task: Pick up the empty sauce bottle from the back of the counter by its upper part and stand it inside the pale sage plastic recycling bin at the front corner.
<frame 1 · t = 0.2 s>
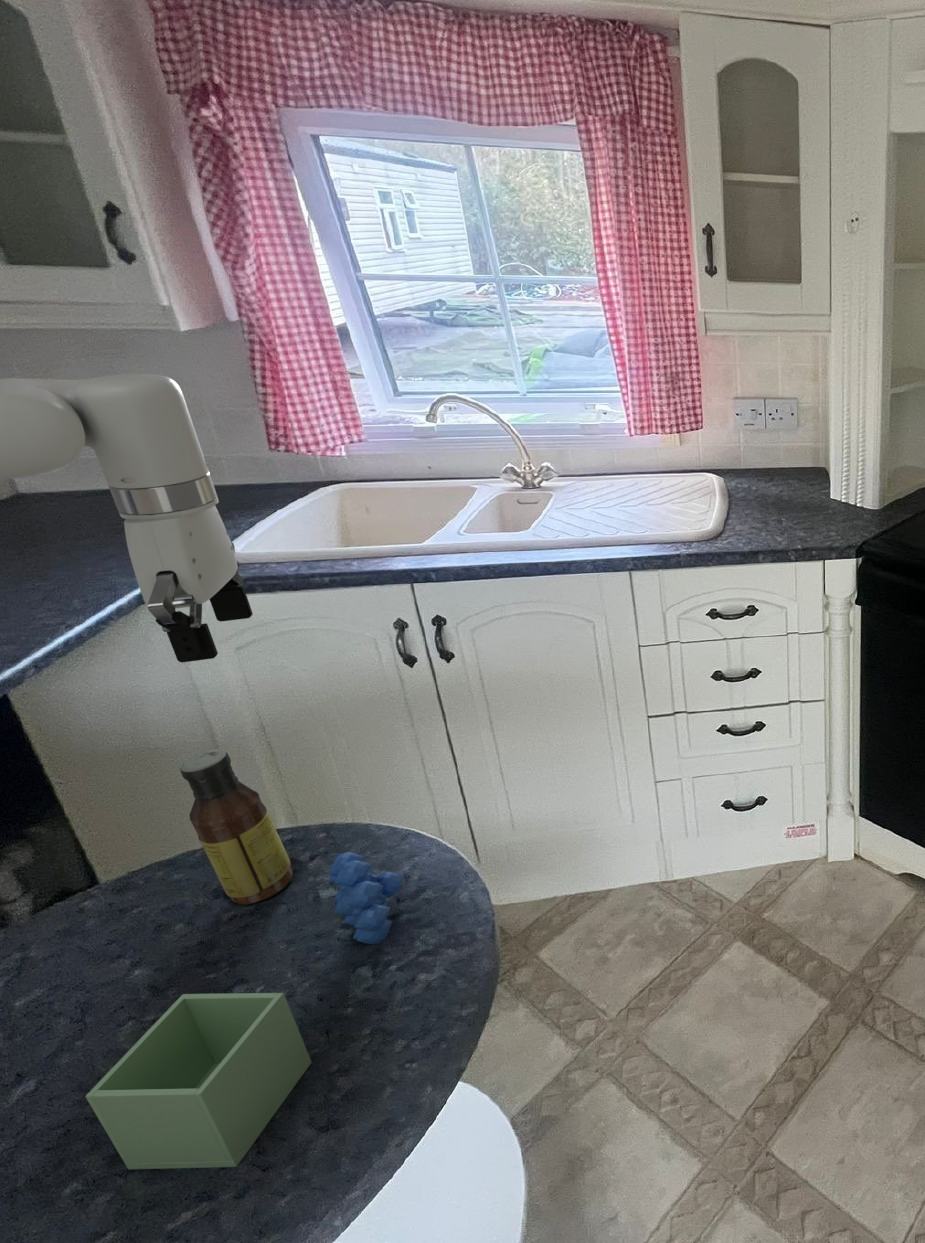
hand: (218, 638, 85), 33 cm above the countertop, tool pointing down, fingers open, 9 cm apart
bin: (225, 1112, 69), on the countertop
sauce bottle: (261, 889, 92), on the countertop
grapes: (382, 933, 87), on the countertop
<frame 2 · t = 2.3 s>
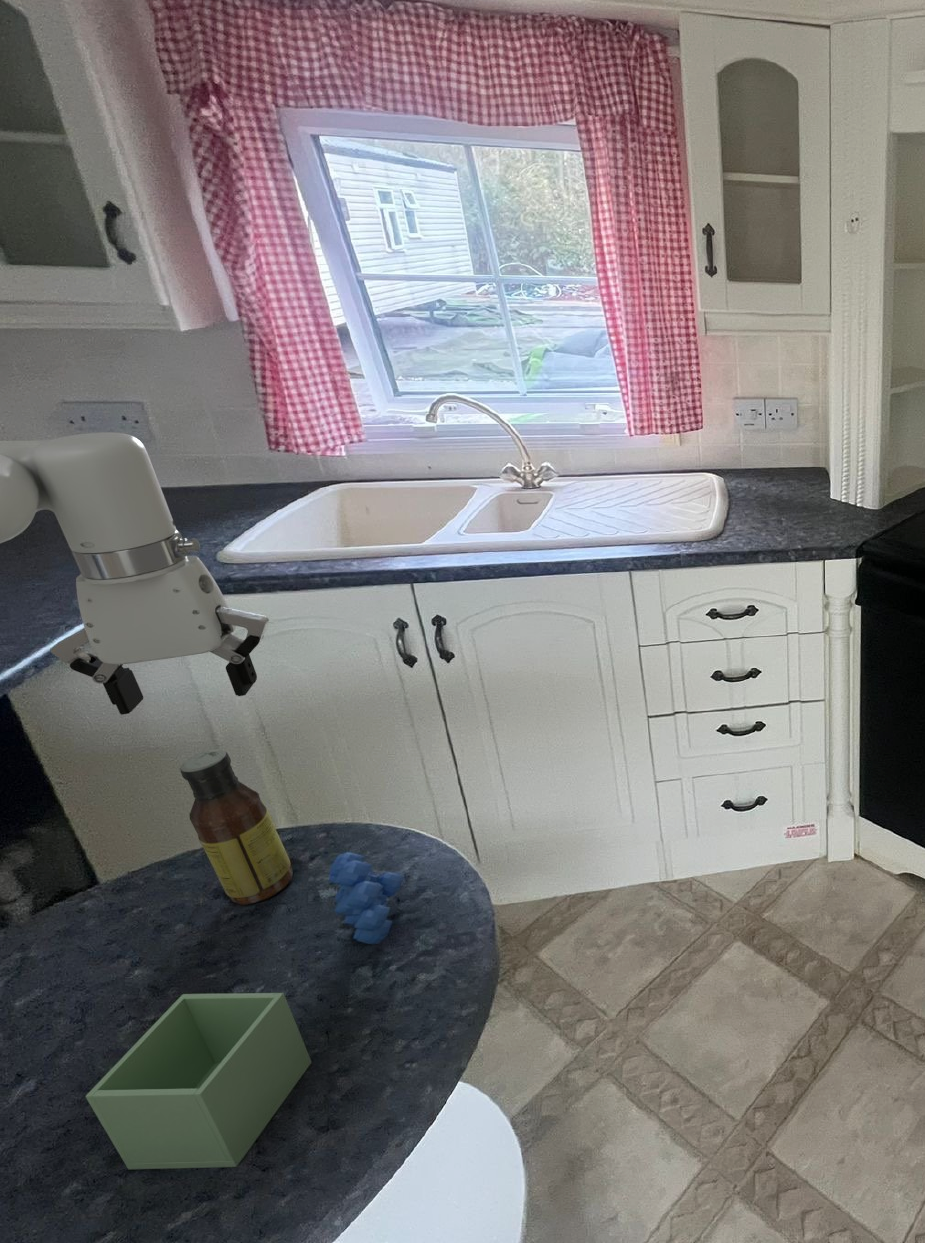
hand: (190, 698, 82), 28 cm above the countertop, tool pointing down, fingers open, 9 cm apart
nothing on the countertop moved.
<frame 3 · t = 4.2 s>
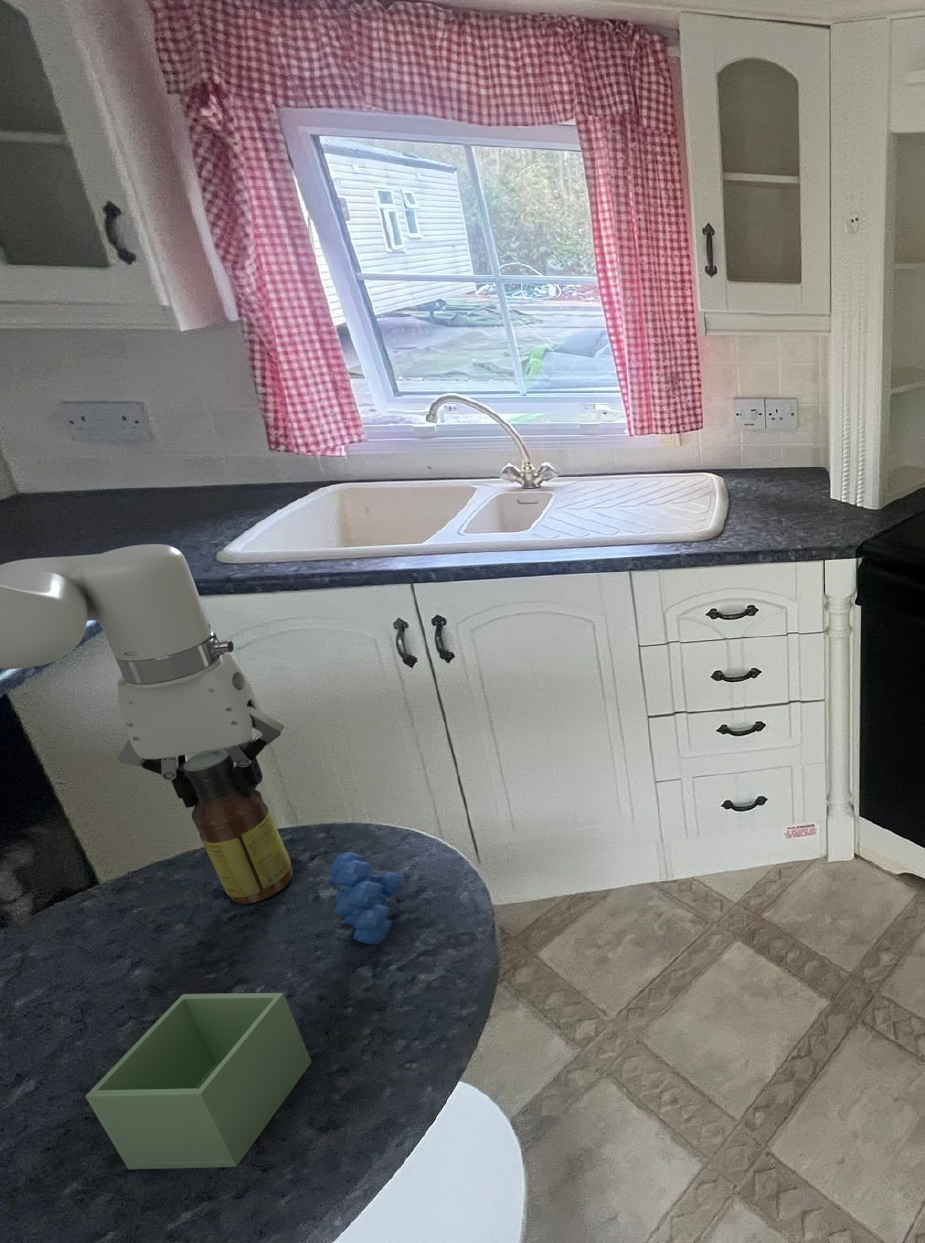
hand: (224, 792, 87), 15 cm above the countertop, tool pointing down, fingers closed on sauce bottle, 4 cm apart
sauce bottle: (261, 889, 92), on the countertop, touching gripper
everything else where it was.
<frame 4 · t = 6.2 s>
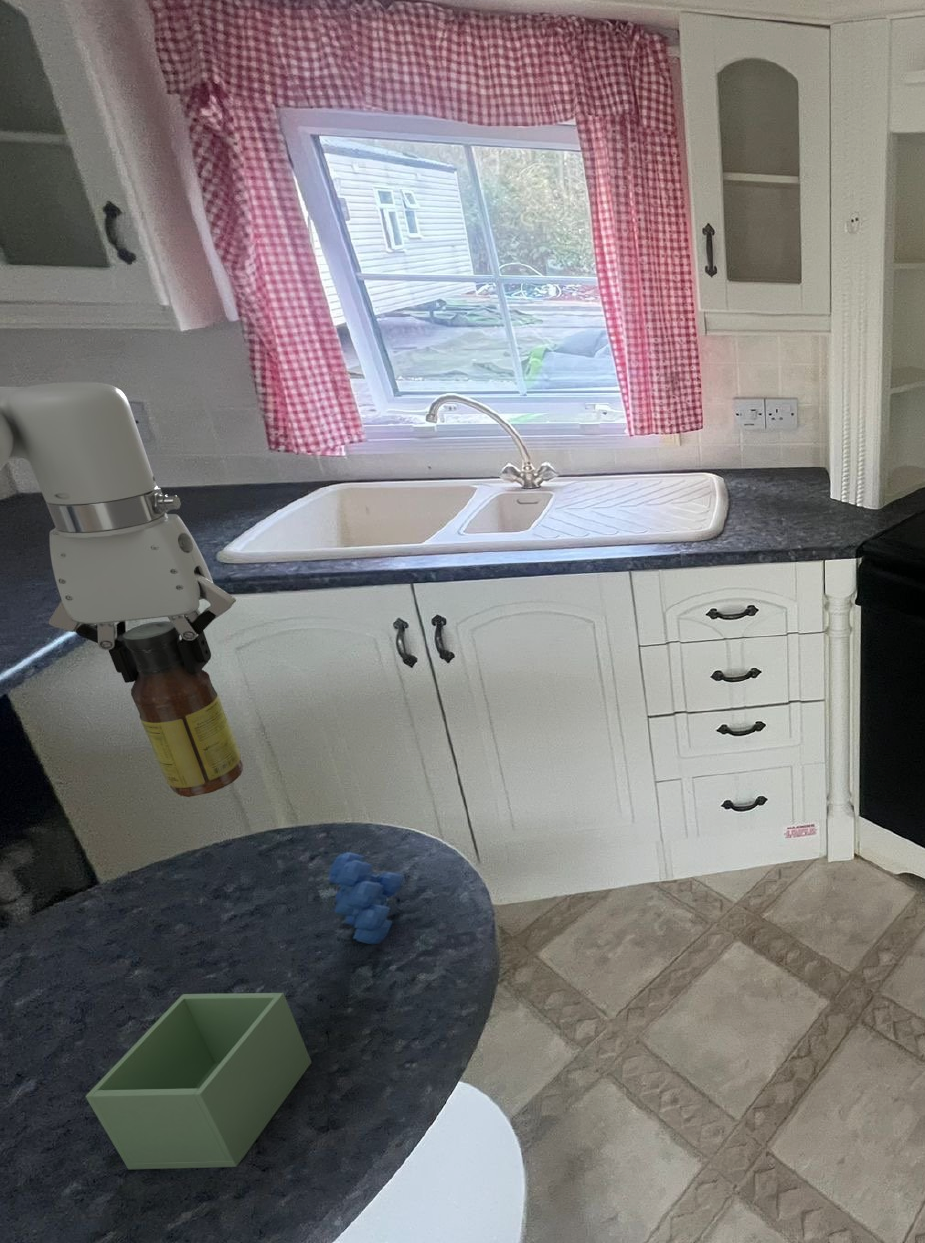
hand: (168, 670, 80), 32 cm above the countertop, tool pointing down, fingers closed on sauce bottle, 4 cm apart
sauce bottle: (207, 783, 85), point 17 cm above the countertop, touching gripper
everything else where it was.
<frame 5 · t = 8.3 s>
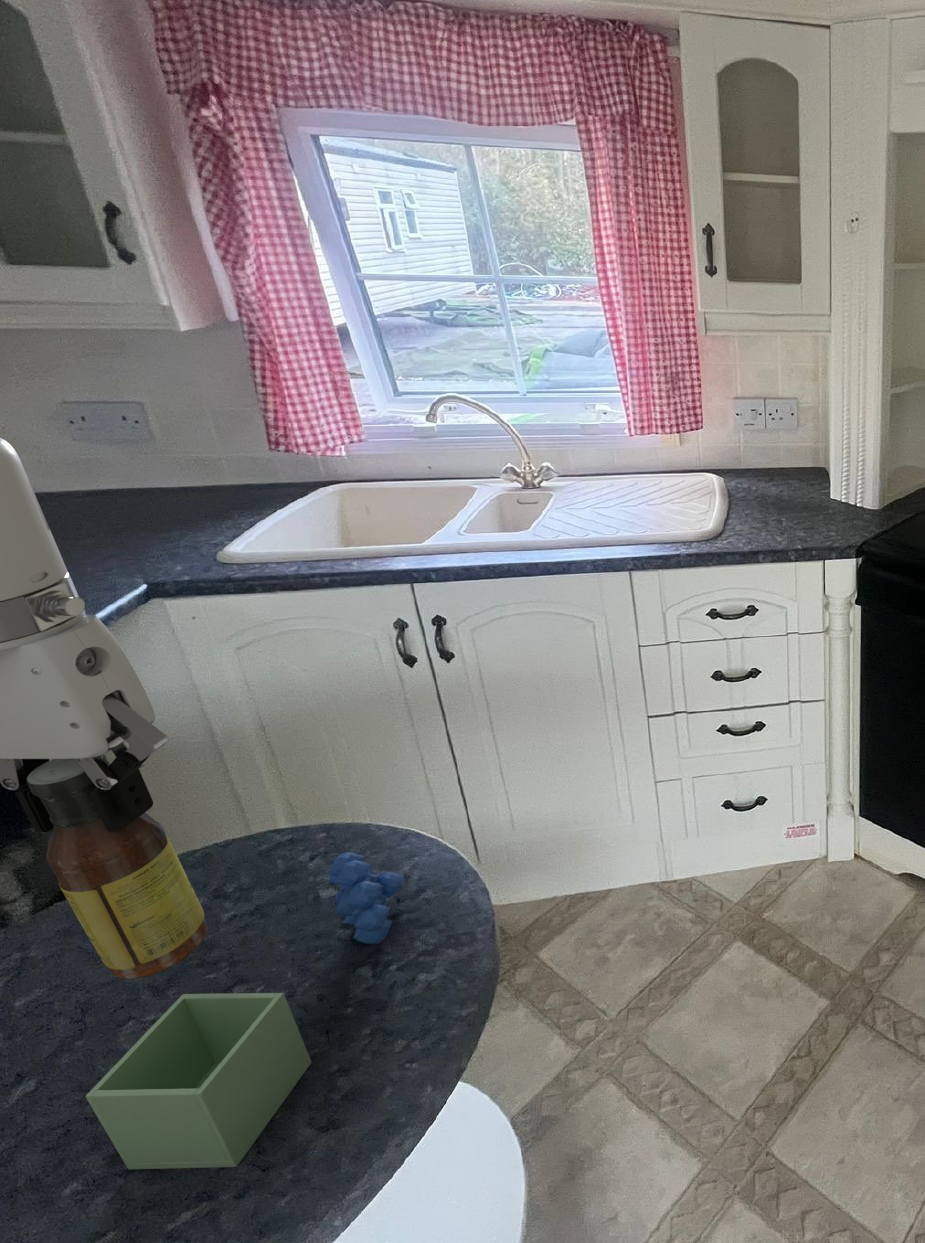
hand: (96, 817, 58), 33 cm above the countertop, tool pointing down, fingers closed on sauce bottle, 4 cm apart
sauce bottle: (159, 953, 64), point 18 cm above the countertop, touching gripper
everything else where it was.
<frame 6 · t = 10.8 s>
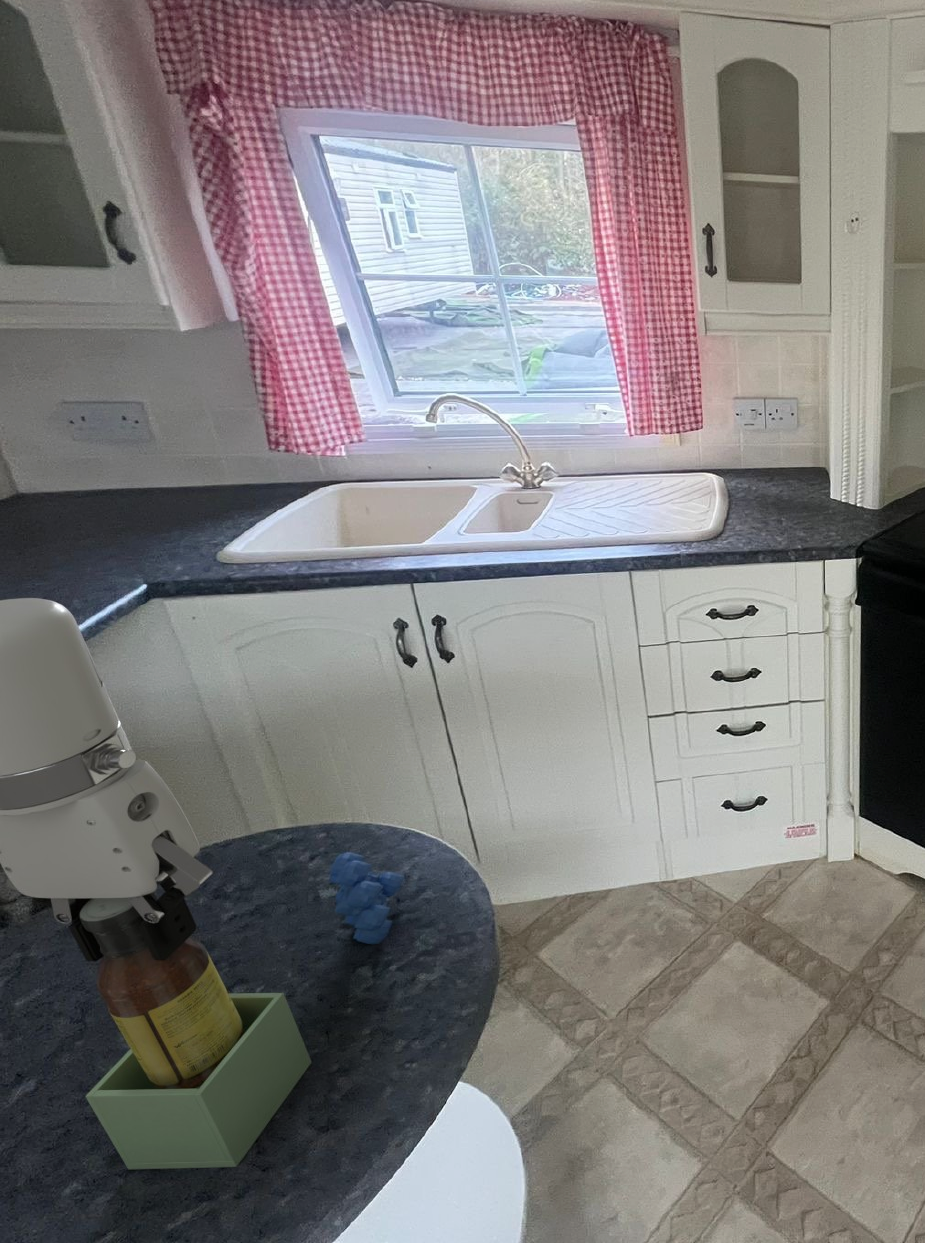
hand: (143, 943, 61), 22 cm above the countertop, tool pointing down, fingers closed on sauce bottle, 4 cm apart
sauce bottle: (200, 1064, 67), point 7 cm above the countertop, touching gripper
everything else where it was.
when the fingers open (16 cm above the countertop, at t = 12.6 s): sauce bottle stays where it is, resting on bin.
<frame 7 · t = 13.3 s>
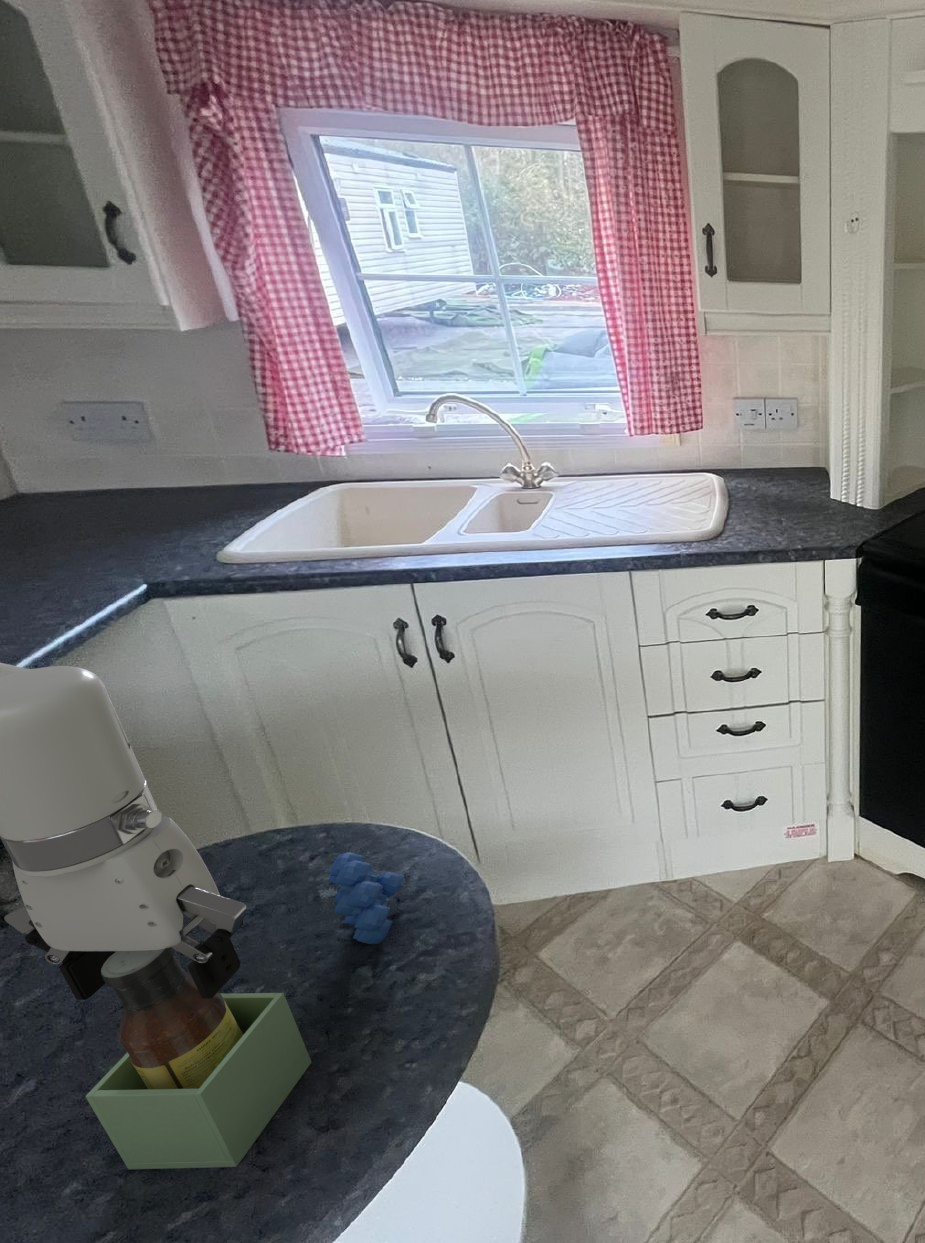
hand: (162, 983, 63), 17 cm above the countertop, tool pointing down, fingers open, 9 cm apart
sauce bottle: (220, 1107, 69), point 1 cm above the countertop, touching bin
everything else where it was.
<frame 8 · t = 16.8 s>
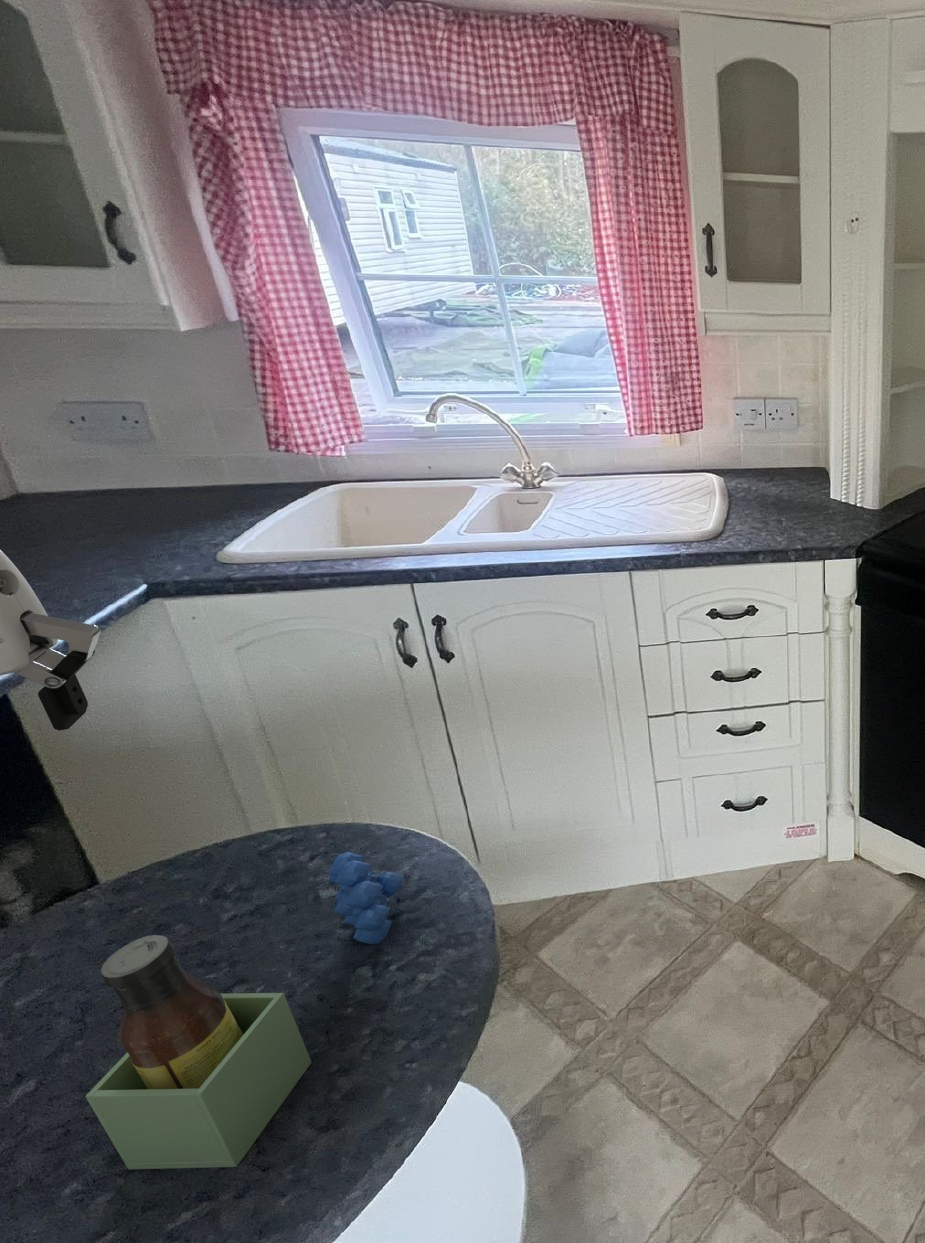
nothing on the countertop moved.
at the end: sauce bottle 0.3 cm off-centre in the bin, point 0.6 cm above the bin's base; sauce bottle tilted 0°; the gripper is holding nothing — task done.
